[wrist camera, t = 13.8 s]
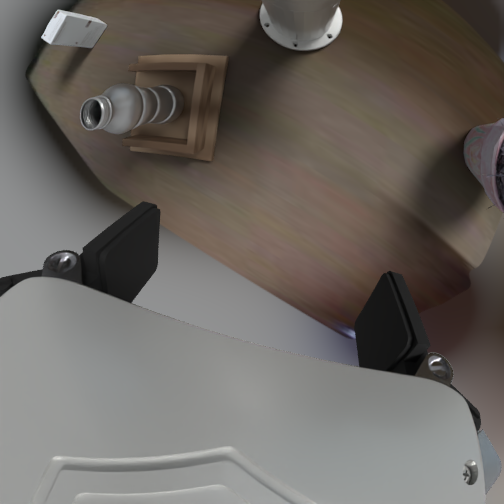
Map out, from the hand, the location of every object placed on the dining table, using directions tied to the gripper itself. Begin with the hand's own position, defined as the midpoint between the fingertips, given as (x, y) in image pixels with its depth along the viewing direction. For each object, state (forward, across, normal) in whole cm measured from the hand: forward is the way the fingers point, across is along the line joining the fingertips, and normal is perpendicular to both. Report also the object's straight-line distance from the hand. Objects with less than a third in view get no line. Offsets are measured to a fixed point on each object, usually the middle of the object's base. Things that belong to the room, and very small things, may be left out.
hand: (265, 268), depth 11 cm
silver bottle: (+35, +21, -3) cm, 41 cm away
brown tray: (+36, +21, -3) cm, 42 cm away
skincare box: (+36, +43, -17) cm, 58 cm away
